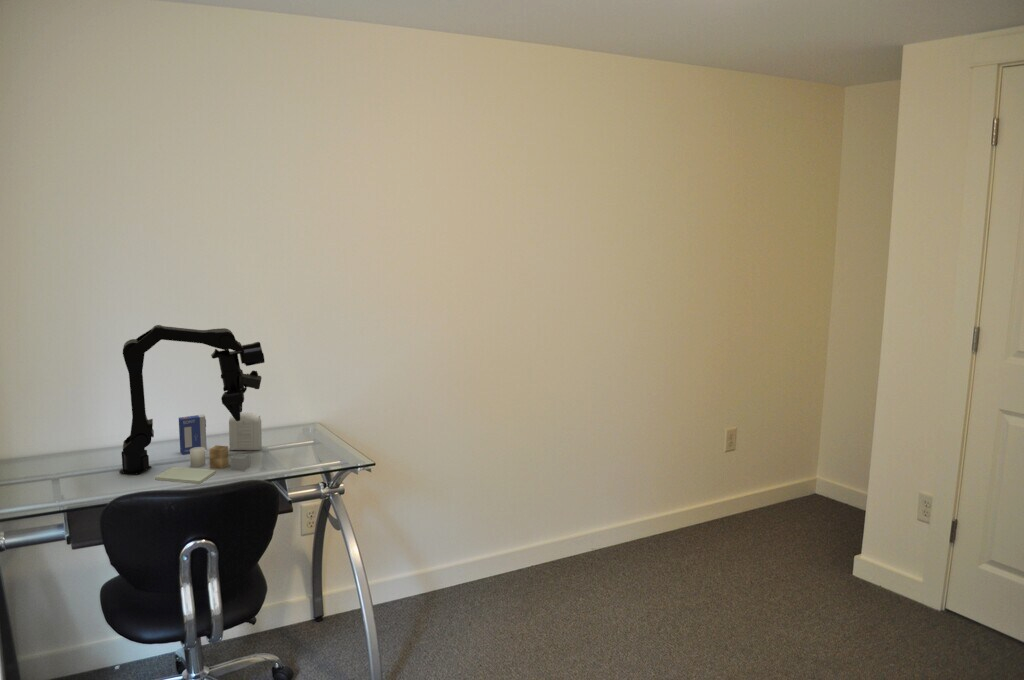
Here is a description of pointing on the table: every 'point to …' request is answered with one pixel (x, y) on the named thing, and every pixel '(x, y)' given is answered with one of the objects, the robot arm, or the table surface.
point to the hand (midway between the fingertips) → (239, 416)
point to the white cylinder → (197, 457)
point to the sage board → (185, 475)
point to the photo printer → (245, 432)
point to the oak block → (218, 457)
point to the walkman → (192, 433)
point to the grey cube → (240, 462)
